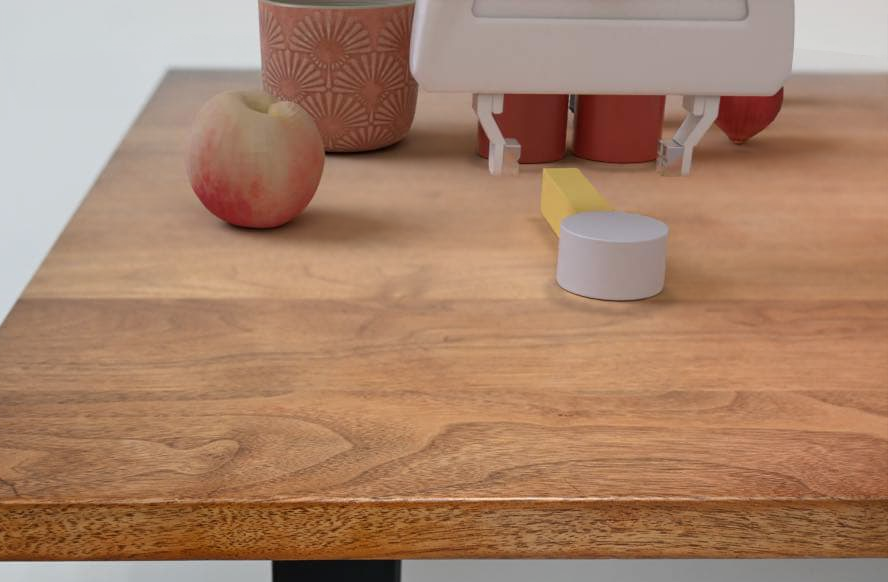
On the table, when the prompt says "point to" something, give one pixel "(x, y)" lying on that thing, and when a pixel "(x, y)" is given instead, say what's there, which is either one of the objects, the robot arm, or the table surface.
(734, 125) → the onion
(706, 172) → the table surface
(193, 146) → the fruit
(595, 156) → the cans
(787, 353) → the table surface
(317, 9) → the planter
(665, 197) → the table surface
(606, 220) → the white cylinder yellow bar
